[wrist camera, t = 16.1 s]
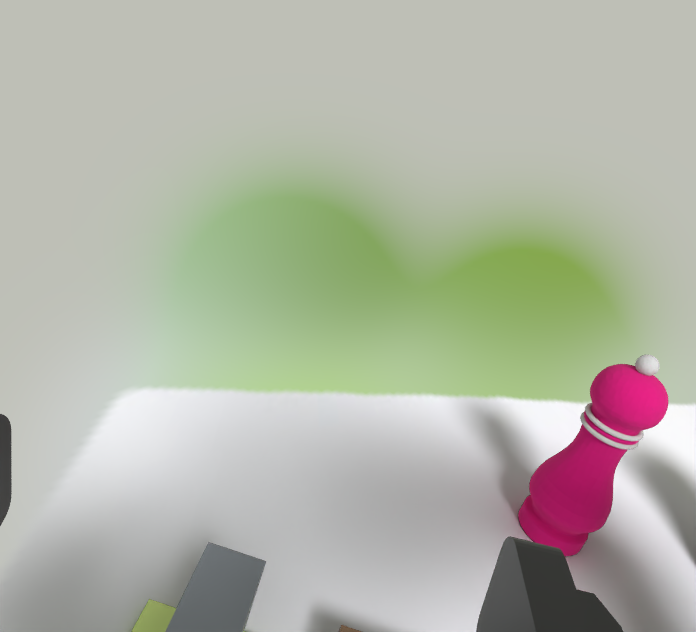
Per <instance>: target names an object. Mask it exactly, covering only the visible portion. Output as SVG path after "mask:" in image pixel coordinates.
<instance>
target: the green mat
mask: <svg viewBox="0 0 696 632" xmlns="http://www.w3.org/2000/svg"><path fill="white" fill-rule="evenodd" d="M175 610H176V608H174V607H171V606H168V605H165V604H162V603H160V602H157V601H154V600H151V599H149V600H148V602H147V604H146V606H145V608H144V609H143V611H142V613H141V615H140V617H139V619H138V620H137V622H136V624H135V626H134V628H133V629H132V631H131V632H165V631H166V629H167V627H168V625H169V623H170V621H171V619H172V617H173V615H174V613H175ZM244 632H245V631H244Z"/></svg>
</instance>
